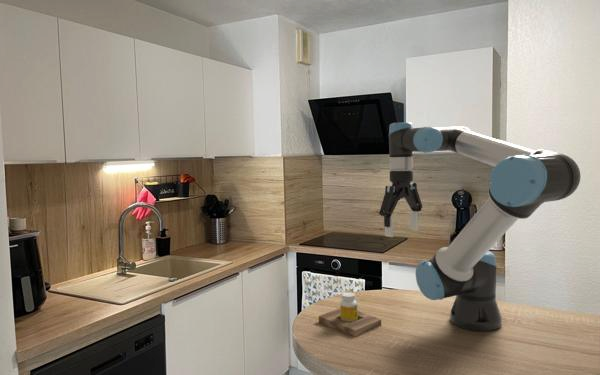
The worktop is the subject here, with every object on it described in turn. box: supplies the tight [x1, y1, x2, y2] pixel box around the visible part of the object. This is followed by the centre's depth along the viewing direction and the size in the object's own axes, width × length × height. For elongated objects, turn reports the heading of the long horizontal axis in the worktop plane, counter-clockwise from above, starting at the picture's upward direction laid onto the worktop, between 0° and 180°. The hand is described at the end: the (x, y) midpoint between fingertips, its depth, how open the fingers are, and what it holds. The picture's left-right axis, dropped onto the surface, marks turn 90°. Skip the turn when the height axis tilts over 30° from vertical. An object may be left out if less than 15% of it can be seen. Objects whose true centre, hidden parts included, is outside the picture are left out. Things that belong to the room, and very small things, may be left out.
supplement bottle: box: [339, 292, 358, 323], centre depth 148 cm, size 5×5×10 cm
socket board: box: [318, 307, 382, 338], centre depth 148 cm, size 16×12×2 cm
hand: (401, 233), depth 155 cm, fingers open, 13 cm apart
